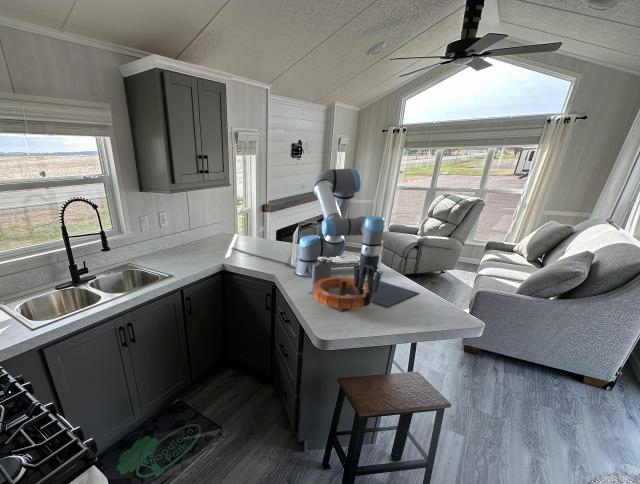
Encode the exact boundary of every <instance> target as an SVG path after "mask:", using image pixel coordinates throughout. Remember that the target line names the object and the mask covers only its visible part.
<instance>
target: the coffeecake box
mask: <svg viewBox="0 0 640 484" xmlns="http://www.w3.org/2000/svg"><path fill="white" fill-rule="evenodd" d="M384 243H385V240H383V239H382V242H381V249H380V254H379V262H378V265H377V267H378V270H379V271H380V272H381V263H382V257H383V251H384V250H383V249H384ZM375 274H376V272H375V273H374V277H375V276H376V275H375ZM366 277H367V275H366Z"/></svg>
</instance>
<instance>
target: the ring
mask: <svg viewBox="0 0 640 484" xmlns="http://www.w3.org/2000/svg"><path fill="white" fill-rule="evenodd" d="M341 279H345V280H347V284H346V289H351V290H354V291H357V288H356V287H354V277H347V276H330V277H329V278H324V279H320V280H318V281H317V282H315V283H314V291H313V293H312V295H313V298H314V299H315V300H316V301H317V302H318V303H320V304H322V305H325V306H328V307H330V306H331V308H333V307H336V308H347V309H346V310H348V309H349V310H351V309H352V310H353V309H360V308H361V309H362V308H365V306H364V303H365V295H366V292H368V283H366V282H364V285H363V287H364V288H362V289H364V293H362V294H359V295H345V296H342V295H339V294H335V293H331V292H328V291H326V289H327V290H330V289H339V288H340V280H341ZM372 299H373V293H372ZM372 299H371V300H370V303H369V305H370V304H371V303H372V302H371V301H372Z"/></svg>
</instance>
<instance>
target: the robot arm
mask: <svg viewBox="0 0 640 484" xmlns="http://www.w3.org/2000/svg"><path fill="white" fill-rule="evenodd" d="M361 185H362V178H361V173H360V170H359V169H357V168H328V169H326V170H325V169H324V170H323V171H321V172H320V173H318V175H317V176H316V177H315V179H314V181H313V184H312V191H313V194H314V196H315V197H316V198H317V200H318V203H319V206H320V210H321V213H322V216H323V220H322V222H321V233H322V235H323V237H320V235H316V234H309V235H305V236H302V237H300V239H299V244H298V249H299V250H298V262H297V264H296V266H292V265H290V264H289V263H286V262H283V261H280V260H277V259H272V258H268V257H265V256H262V255H257V254H253V253H249V252H246V251H243V250H241V249H238V248H235V247H231V249H234V250H235V251H237V252H241V253H243V254H246V255H250V256H253V257H257V258H261V259H265V260H269V261H273V262H275V263H276V262H277V263H280V264H282V265H283V264H284V265H286V266H288V267H290V268H292V269H295V271H294V272H295V275H297V276H299V277H305V278H310V277H311V278H312V270H313V264H317V263H319V262H318V257H336V256H342V255H343V254H344V253H345V251H346V250H345V249H346V244H347V243H346V238H344V236H345V237H346V236H347V237H350V236H351V237H352V236H362V242H361V248H360V249H361V250H360V253H361V254H360V257H359V264H356V265H353V271H354V274H353V278H354V287H356V288H357V295H359V294H362V293H364V289H362V288H364V287H363V285H364V281H366V278H367V280H368V292H366V295H365V303H364V308H365V307H369V306H370V304H371V303H370V300H371V299H372V293H375V292H377V290H378V286H379V282H380V281H381V277H382V276H383V275H384V272H383V271H381V270H380V271H379V270H378V267H377V265H378V262H379V254H380V249H381V242H382V240H383V235H384V230H385V218H384V217H383V216H377V215H376V216H374V215H373V216H371V215H370V216H364V215H361V216H358V217H347V214H348V210H349V206H350V201H351V199H353V198H354V197H355V193H356V194H357V193H358V192H359V193H360V191H361ZM375 272H376V274H375V276H374V273H375ZM366 275H367V276H366ZM373 280H374V283H373ZM369 303H370V304H369Z"/></svg>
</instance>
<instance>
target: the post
mask: <svg viewBox="0 0 640 484" xmlns="http://www.w3.org/2000/svg"><path fill="white" fill-rule="evenodd" d="M346 284H347V280H345V279H341V280H340V288H338V295H342V296H346V294H347V293H346ZM329 307H331V306H329ZM331 308H333V309H335V310H338V311H340V312H343V311H347V310H348V309H347V308H336V307H331Z"/></svg>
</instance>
